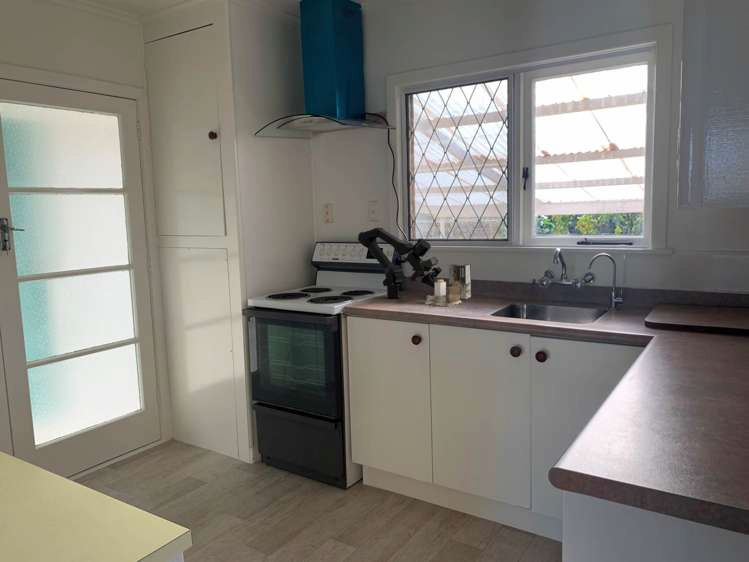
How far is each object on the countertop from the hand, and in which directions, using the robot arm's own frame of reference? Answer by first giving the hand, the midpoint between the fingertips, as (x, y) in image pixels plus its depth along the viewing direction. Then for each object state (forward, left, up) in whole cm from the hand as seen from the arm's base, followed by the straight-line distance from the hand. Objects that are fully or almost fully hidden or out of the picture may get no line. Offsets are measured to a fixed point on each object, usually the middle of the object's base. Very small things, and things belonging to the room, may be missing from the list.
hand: (436, 288), depth 270 cm
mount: (+3, +1, -7) cm, 8 cm away
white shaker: (+2, +1, -5) cm, 6 cm away
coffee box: (-7, +17, -7) cm, 19 cm away
